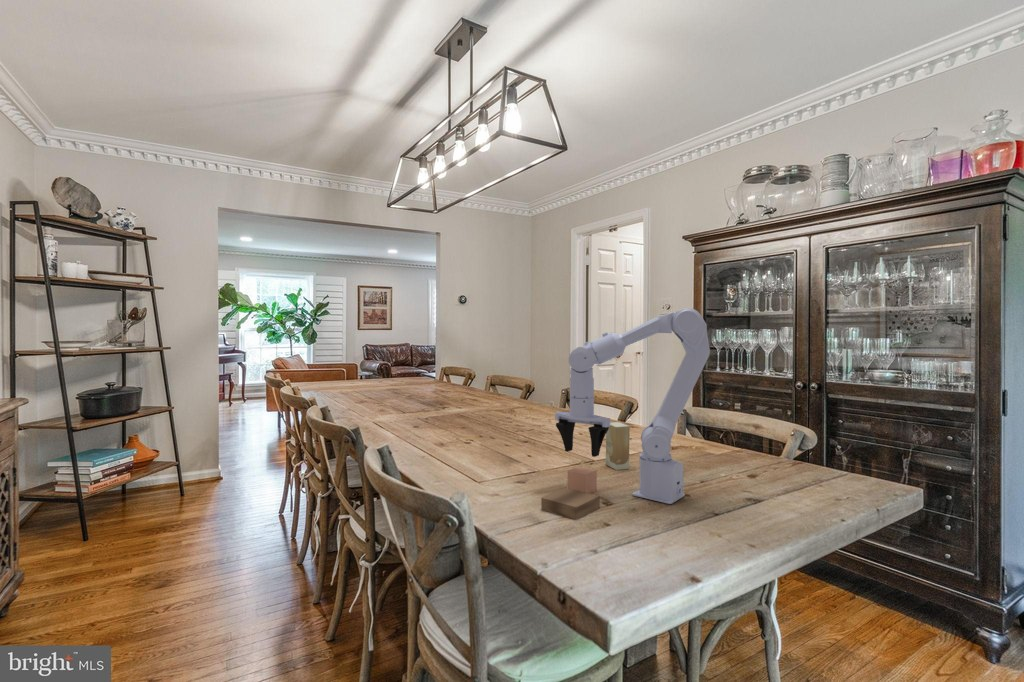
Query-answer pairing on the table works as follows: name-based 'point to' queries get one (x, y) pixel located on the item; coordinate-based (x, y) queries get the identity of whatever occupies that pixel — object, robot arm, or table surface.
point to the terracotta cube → (582, 479)
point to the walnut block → (570, 503)
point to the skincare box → (617, 446)
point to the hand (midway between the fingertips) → (581, 453)
